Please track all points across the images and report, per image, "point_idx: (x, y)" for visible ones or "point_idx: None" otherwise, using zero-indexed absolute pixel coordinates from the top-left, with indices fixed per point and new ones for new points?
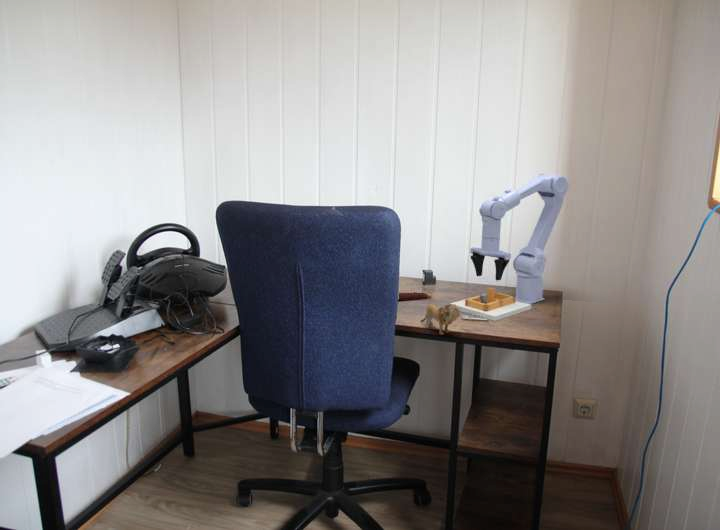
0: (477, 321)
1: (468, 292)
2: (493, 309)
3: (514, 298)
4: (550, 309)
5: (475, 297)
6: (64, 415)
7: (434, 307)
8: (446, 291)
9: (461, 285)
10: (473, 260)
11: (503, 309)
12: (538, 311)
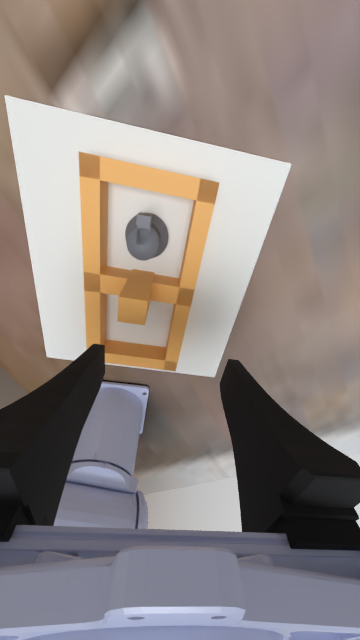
0: (69, 15)
1: (276, 380)
2: None
3: None
4: (20, 373)
5: (196, 259)
6: None
7: None
8: (343, 355)
9: (313, 418)
10: (308, 440)
11: (63, 245)
12: (24, 340)
